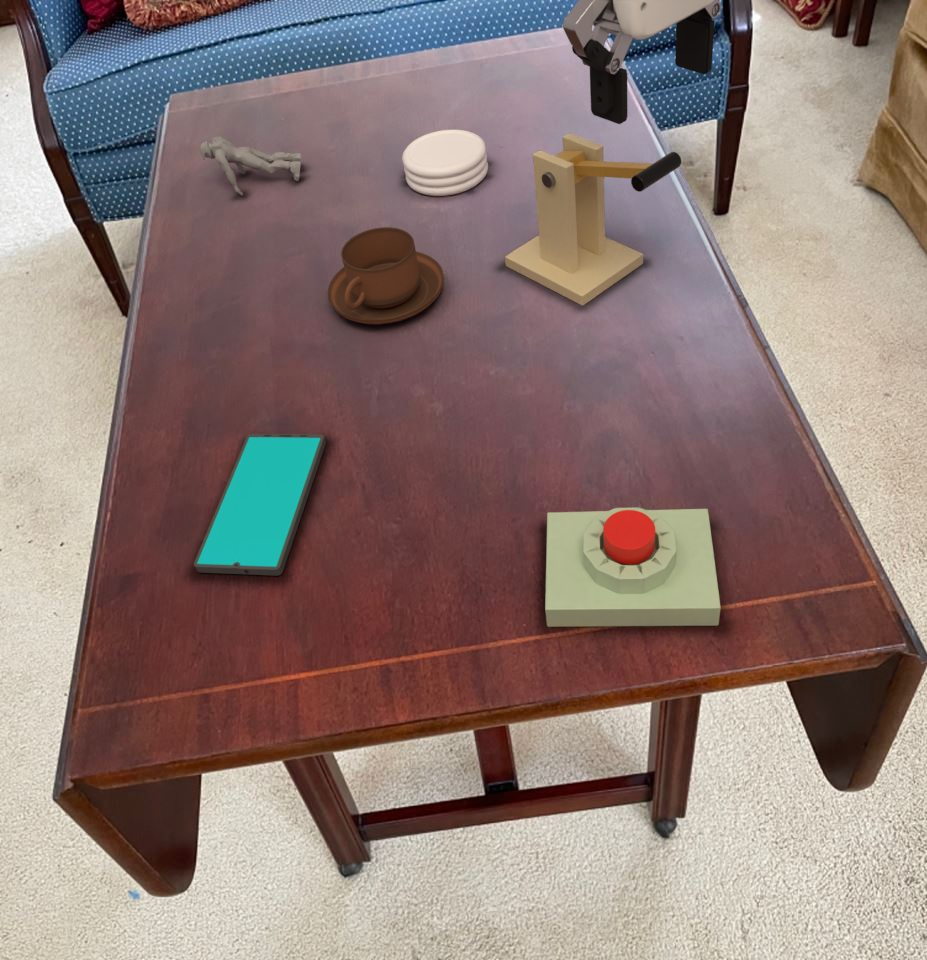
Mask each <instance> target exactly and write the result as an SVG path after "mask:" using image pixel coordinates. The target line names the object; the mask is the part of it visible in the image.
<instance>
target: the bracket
mask: <svg viewBox="0 0 927 960" xmlns="http://www.w3.org/2000/svg"><path fill="white" fill-rule="evenodd" d="M562 151H584V154H585V158H586V161H605V159H604V157H605V155H604V145H603V144H600V143H597V142H595V141H592V140H590V139H587V138H585V137H582V136H579V135H576V134H574V133H571V132H569V133H567V134H565V135H563V136H562ZM532 159H533V160H532V162H533V172H534V173H533V174H534V175H533V176H534V187H535V189H534V190H535V202H536V213H537V226H538V235H537V236H535V237H533V238H532V239H530V240H528V241H526V242H525V243H524V244H522V245H521V246H519V247H518V248H516V249H515V250H513V251H511V252H510V253H508V254H507V255H505V256H504V262H505V266H506V267H507V268H509V269H511V270H513V271H515V272H517V273H518V274H520V275H522V276H524V277H526V278H528V279H529V280H532V281H533V282H536V283H537V284H540V285H541V286H543V287H545V288H548V289H549V290H551V291H553V292H555V293H557V294H559V295H561V296H562V297H565V298H566V299H569V300H570V301H572V302H574V303H576V304H578V305H579V306H585V305H586V304H588V303H589V302H590V301H592V300H593V299H595V298H596V297H597V296H599V295H600V294H602V293H603V292H605V291H606V290H607V289H609V288H610V287H612V286H613V285H615V284H616V283H618V282H619V281H620V280H622V279H623V278H624V277H626V276H627V275H630V274H631V273H632V272H633V271H635V270H636V269H638V268H639V267H641V266H642V265H643V264H644V254H643V253H642V252H640V251H637V250H635V249H634V248H631V247H629V246H626V245H624V244H623V243H620V242H618V241H616V240H613V239H611V238H609V237H608V236H607V237H606V218H605V217H606V215H605V177H597V176H587V177H586V178H584V179H582V180H581V181H579V182H578V183H576V184H575V180H574V164H573V163H571V162H568V161H566V160H563V159H561V158H558V157H556V156H555V155H553V154H551V153H549V152H546V151H543V150H538V151H536V152H534V153H533V154H532Z"/></svg>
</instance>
